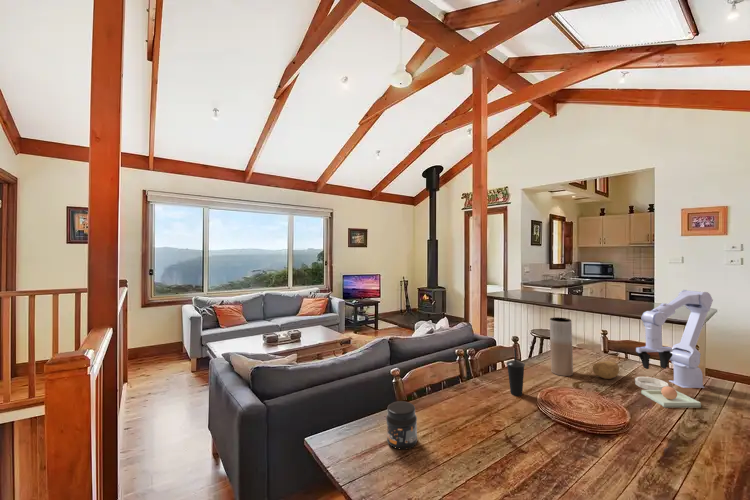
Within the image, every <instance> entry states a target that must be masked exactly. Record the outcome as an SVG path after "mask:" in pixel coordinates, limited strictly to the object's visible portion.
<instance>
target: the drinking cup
mask: <svg viewBox="0 0 750 500" xmlns="http://www.w3.org/2000/svg"><path fill="white" fill-rule="evenodd" d="M513 351H514V354H513V355H514V359H511V360H508V361H506V367H507V373H508V382H509V383H508V384H509V389H510V394H511V395H512V396H515V397H522V396H523V393H524V391H523V390H524V389H523V388H524V374H525V366H526V364H525V362H522V361H520V360H517V349H516V348H514V350H513Z"/></svg>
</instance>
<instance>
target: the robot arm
mask: <svg viewBox="0 0 750 500" xmlns="http://www.w3.org/2000/svg"><path fill="white" fill-rule="evenodd" d="M713 301H714V299H713V298H712V295H711V294H710V293H709V291H697V290H687V289H683V290H681V291H679V292H678V294H677V296H676V297H675V298H673V299H672V300H671V301H669V302H666V303H665V302H662V303H660V304H659V305H658V306H656V307H655V308H653V309H651V310H646V311H644V312H643V313H642V315H641V316H640V318H641V321H642V323H643V326H644V329H645V330H644V331H645V345H644V346H640V347H639V346H637V347H635V352H636V354H637V356H638V357H639V358H640V361H641V363H642V366H643V368H644V369H646V370H649V368H650V358H651V355H650V354H649V353H658V356H659V363H660V368H662V369H667V366H668V363H669V361H671V364H672V365H673V380H671V379H670V380H668V382H670V383H672V384H674V385H676V386H678V387H680V388H682V389H683V388H684V389H690V388H691V389H701V388H702V389H705V386H704V384H703V382H704V381H703V379H704V378H703V370H701V368H700V367H699V365H700V364H701V355H702V354H701V352H700V351H699V350H698V349H697V348H696V346H697V345H698V344H697V343H698V341H699V339H700V335H701V332H702V329H703V326H704V325H705V324H704V323H705V322H706V318H707V315H708V312H710V310H711V306H712V304H713ZM684 306H685V307H686V309H688V310H689V311H690V313H689V316H688V319H687V322H686V324H685V328H684V331H683V332H682V336H681V338H680V342H678V343H675V344H673V345H672V347H670V346H663V333H662V331H663V330H662V329H663V327H662V326H663V325H664V324H665V322H666V321H667V319H668V318H670V317H671V316H673V315H674V314H675V313H676V310H677V309H680V308H681V307H684Z"/></svg>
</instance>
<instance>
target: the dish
mask: <svg viewBox="0 0 750 500" xmlns="http://www.w3.org/2000/svg"><path fill="white" fill-rule="evenodd" d="M634 383H635V384H634V385H636V386H637V387H639V388H640V389H641V388H642V389H643V390H662V388H663V387H665V386H669V387H670V385H669V383H668V382H666V381H665V380H662V379H659V378H655V377H650V376H637V377H634Z"/></svg>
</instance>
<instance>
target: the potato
mask: <svg viewBox="0 0 750 500" xmlns="http://www.w3.org/2000/svg"><path fill="white" fill-rule="evenodd" d="M592 372H593V373H594V374H595V376H597V377H599V378H602V379H604V380H605V379H606V380H610V379H614V378H616V377H617V376H618V374H619V372H620V368H619V365H618V363H616V362H615V361H611V360H604V361H599V362H596V363H594V364H593V366H592Z"/></svg>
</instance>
